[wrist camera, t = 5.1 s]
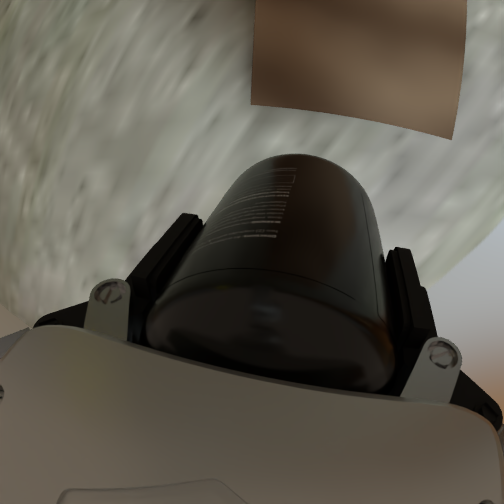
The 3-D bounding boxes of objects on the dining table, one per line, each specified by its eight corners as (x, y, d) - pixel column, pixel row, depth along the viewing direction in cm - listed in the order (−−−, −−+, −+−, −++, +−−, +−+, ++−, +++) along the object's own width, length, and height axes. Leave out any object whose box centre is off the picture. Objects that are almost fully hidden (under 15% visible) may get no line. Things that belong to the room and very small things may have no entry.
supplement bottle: (223, 266, 17) (114, 488, 7) (231, 137, 13) (-2, 382, 3) (353, 295, 16) (330, 544, 6) (395, 170, 12) (480, 504, 2)
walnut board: (264, -90, 10) (261, -96, 9) (458, -58, 8) (463, -63, 7) (254, 102, 18) (250, 104, 17) (446, 136, 16) (451, 140, 15)
